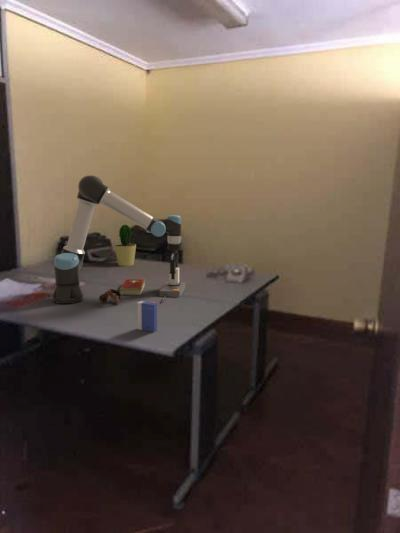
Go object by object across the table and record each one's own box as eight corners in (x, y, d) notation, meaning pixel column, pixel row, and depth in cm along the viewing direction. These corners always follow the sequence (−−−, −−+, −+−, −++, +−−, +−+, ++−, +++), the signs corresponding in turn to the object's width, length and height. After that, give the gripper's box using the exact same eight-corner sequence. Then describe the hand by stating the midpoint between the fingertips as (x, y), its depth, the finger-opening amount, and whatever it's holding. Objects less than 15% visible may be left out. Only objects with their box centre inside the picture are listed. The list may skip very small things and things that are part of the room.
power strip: (175, 303, 198) (175, 297, 197) (154, 302, 199) (154, 296, 199) (185, 287, 230) (185, 281, 229) (166, 286, 231) (166, 280, 230)
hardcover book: (119, 295, 213) (119, 287, 212) (125, 285, 234) (125, 278, 233) (141, 295, 213) (141, 288, 213) (145, 285, 234) (145, 278, 233)
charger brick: (177, 285, 221) (178, 269, 219) (169, 284, 222) (169, 269, 220) (179, 282, 226) (179, 267, 224) (170, 282, 227) (170, 267, 225)
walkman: (157, 329, 163) (157, 302, 161) (154, 332, 161) (153, 304, 158) (140, 327, 166) (140, 300, 164) (137, 329, 164) (136, 301, 161)
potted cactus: (122, 267, 278) (121, 225, 272) (111, 264, 290) (110, 223, 283) (140, 265, 288) (139, 224, 282) (129, 261, 299) (128, 222, 293)
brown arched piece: (108, 300, 204) (115, 287, 202) (119, 311, 200) (127, 298, 198) (91, 300, 193) (99, 286, 192) (103, 311, 189) (111, 298, 188)
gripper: (178, 245, 210) (177, 287, 215) (183, 240, 227) (183, 279, 232) (164, 245, 210) (164, 287, 215) (170, 240, 228) (170, 279, 233)
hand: (174, 283), depth 224 cm, fingers closed on charger brick, 5 cm apart
